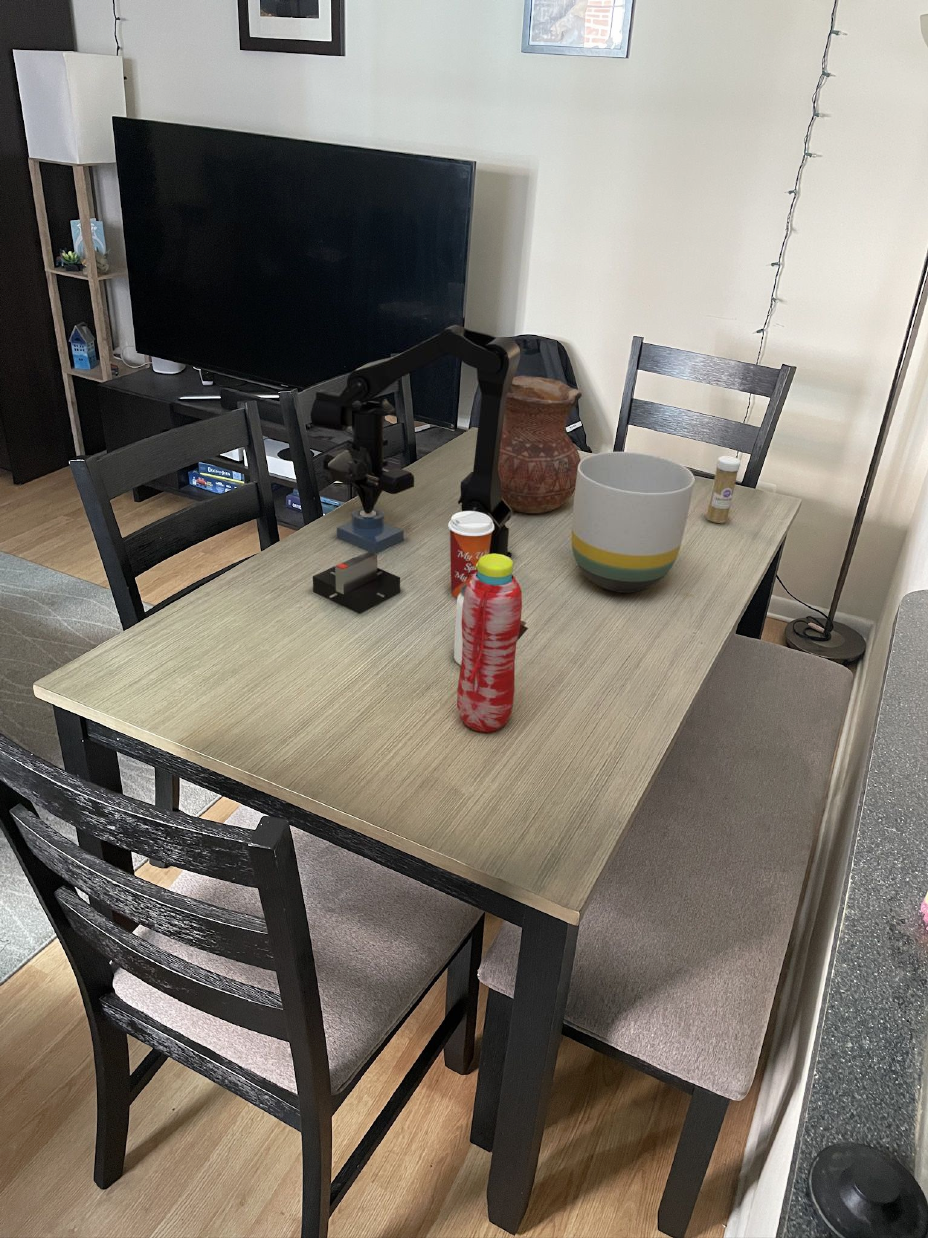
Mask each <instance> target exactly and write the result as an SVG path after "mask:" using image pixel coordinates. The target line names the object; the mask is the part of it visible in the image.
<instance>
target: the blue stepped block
mask: <svg viewBox="0 0 928 1238" xmlns="http://www.w3.org/2000/svg"><path fill="white" fill-rule="evenodd" d="M362 510H364V509H363V506H362V507H358V508H356V509H353V511H352V512H351V521H349V522H347V523H343V524H341V525H339V526H336V538H337V539H340V540H341V541H344V542H346V543H349V544H350V545H351V544H352V545H354V546H356V547H359V548H360V549H363V550H365V551H367V552H369V551H370V552H373V553H375V554H377V553H379V552H382V551H384V550H386V549H388V548H390V547H393V546H394V545H397V544H399V543H401V542H403V541H404V529H401V528H399V527H397V526H394V525H392V524H389V523H387V522H385V512H384V511H383V510H382V509H380V508H378V507H374V508H373V510H374V511H375V512H376V516H374V517H362V516H360V511H362Z"/></svg>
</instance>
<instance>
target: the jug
mask: <svg viewBox="0 0 928 1238" xmlns="http://www.w3.org/2000/svg"><path fill="white" fill-rule="evenodd" d="M582 397H583V393H582V391H581V390H580V389H576V388H573V387H570V386H569V385H567V384H566V383H564V382H563V381H560V380H556V379H553V378H546V377H542V376H529V375H515V376H514V378H513V381H512V383H511V385H510V388H509V390H508V393H507V398H506V406H505V414H504V422H503V431H502V439H501V447H500V455H499V463H498V473H499V476H500V480H501V487H502V498H503V499H504V501H505V502H506V503H507V504H508V505H509V507H510V508H511V509H512V510H513V512H517V513H518V512H519V513H525V514H544V513H548V512H551V511H554V510H556V509H558V508H560V507H561V506H562V505H563V504H565V503H566V502H568V500H569V499H570V498H571V497H572V495H574V494H575V487H576V478H577V470H578V465H579V463H580V461H581V460H582V459H581V456H580V453H579V451H578V448H577V447H576V446H575V444H574V443H573V441H572V440H571V438H570V437H569V435H568V433H567V431H566V428H567V421H568V419H569V416H570V414H571V413H572V411H573V409H574V407H575V406H576V405H577V403H578V401H579V400H580V399H582Z"/></svg>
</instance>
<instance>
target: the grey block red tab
mask: <svg viewBox="0 0 928 1238" xmlns="http://www.w3.org/2000/svg"><path fill="white" fill-rule="evenodd" d="M352 558H353V559H352ZM352 558H350V559H351V560H350V559H348V560H349V561H347V560H346V561H347V562H345V561H343V562H344V563H343V562H339V563H338V564H336V565H337V566H336V565H335V577H336V591H337V592H340V593H342V594H345V593H347V592H349V591H351V590H353V589H356V588H358V587H360V586H362V585H364V584H366V583H368V582H370V581H372V580H374V579H376V578H377V568H378V554H377V553H373V552H370V551H366V552H364V553H362V554H360V555H357V556H355V557H352Z"/></svg>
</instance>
